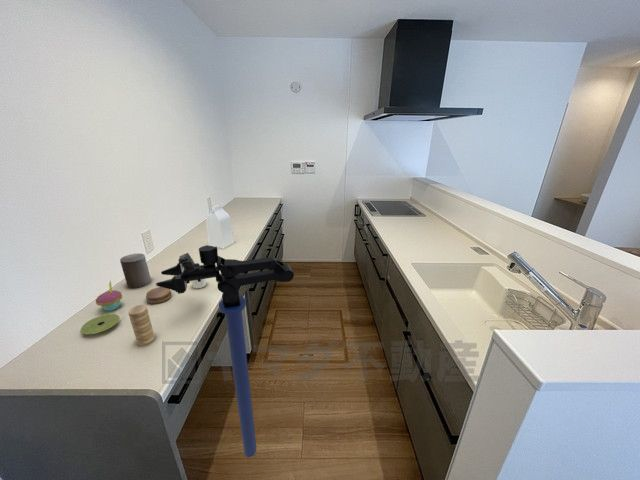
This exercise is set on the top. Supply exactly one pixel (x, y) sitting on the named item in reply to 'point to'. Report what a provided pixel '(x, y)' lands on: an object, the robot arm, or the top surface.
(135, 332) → the chip column
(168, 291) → the chip pile
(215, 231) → the milk
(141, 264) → the pillar candle
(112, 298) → the cupcake
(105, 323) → the green disc
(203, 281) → the white short cylinder
